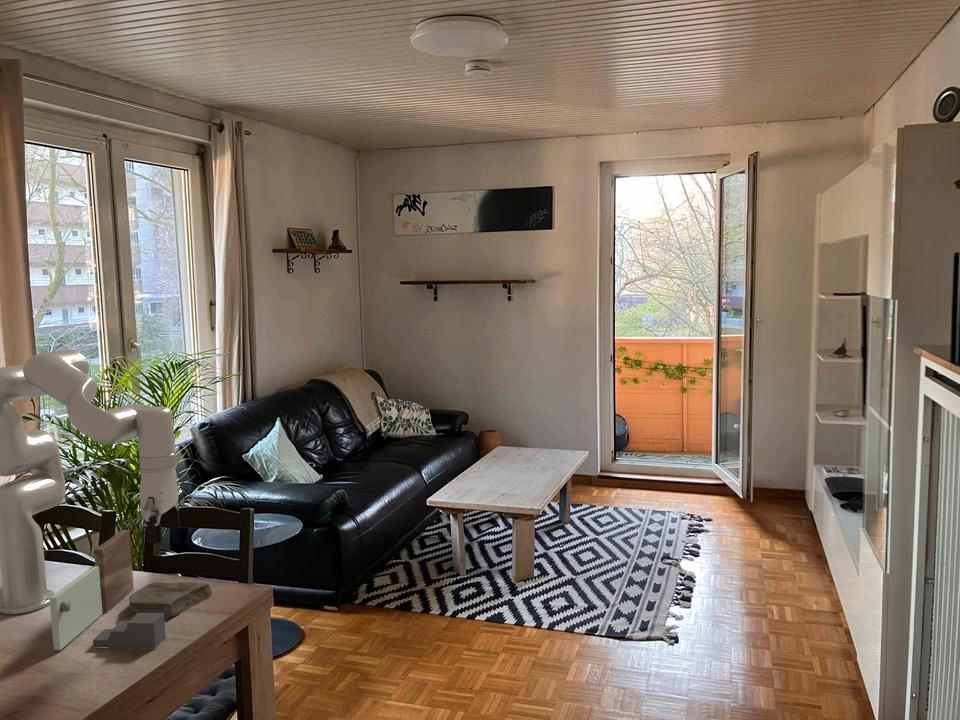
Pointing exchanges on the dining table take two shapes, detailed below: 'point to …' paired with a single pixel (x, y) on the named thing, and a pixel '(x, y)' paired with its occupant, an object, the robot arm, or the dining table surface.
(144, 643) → the grey stepped block
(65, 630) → the door
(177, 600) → the marble piece
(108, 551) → the wood grain plank
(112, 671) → the dining table surface
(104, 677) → the dining table surface
